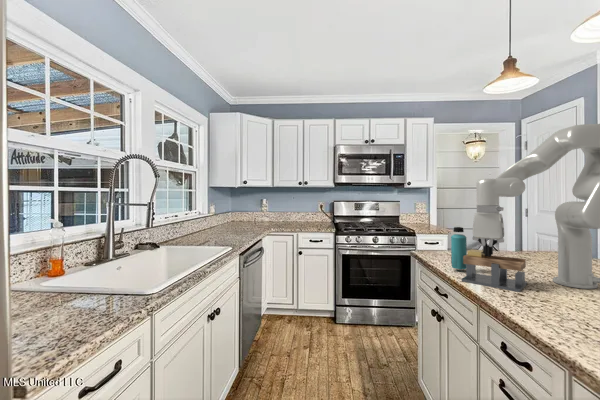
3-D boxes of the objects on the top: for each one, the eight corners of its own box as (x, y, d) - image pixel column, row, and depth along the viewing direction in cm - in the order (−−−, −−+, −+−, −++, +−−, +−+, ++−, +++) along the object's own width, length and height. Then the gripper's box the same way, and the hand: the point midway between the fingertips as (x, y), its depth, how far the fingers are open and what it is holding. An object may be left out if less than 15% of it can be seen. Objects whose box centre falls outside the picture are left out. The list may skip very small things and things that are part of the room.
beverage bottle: (469, 273, 130) (469, 228, 130) (453, 272, 132) (453, 227, 131) (464, 269, 137) (464, 226, 136) (449, 268, 138) (448, 226, 138)
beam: (525, 266, 111) (525, 259, 111) (520, 271, 106) (520, 262, 106) (470, 260, 125) (470, 253, 125) (463, 263, 120) (463, 256, 120)
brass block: (485, 257, 120) (485, 250, 120) (481, 259, 116) (481, 252, 116) (471, 256, 124) (471, 249, 124) (467, 258, 120) (467, 250, 120)
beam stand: (526, 284, 113) (526, 261, 113) (519, 292, 104) (519, 267, 104) (472, 275, 127) (472, 254, 127) (461, 281, 118) (461, 259, 118)
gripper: (512, 210, 114) (513, 257, 114) (470, 209, 124) (470, 252, 125) (507, 210, 108) (508, 260, 109) (463, 209, 119) (464, 254, 120)
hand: (488, 255), depth 117 cm, fingers closed
